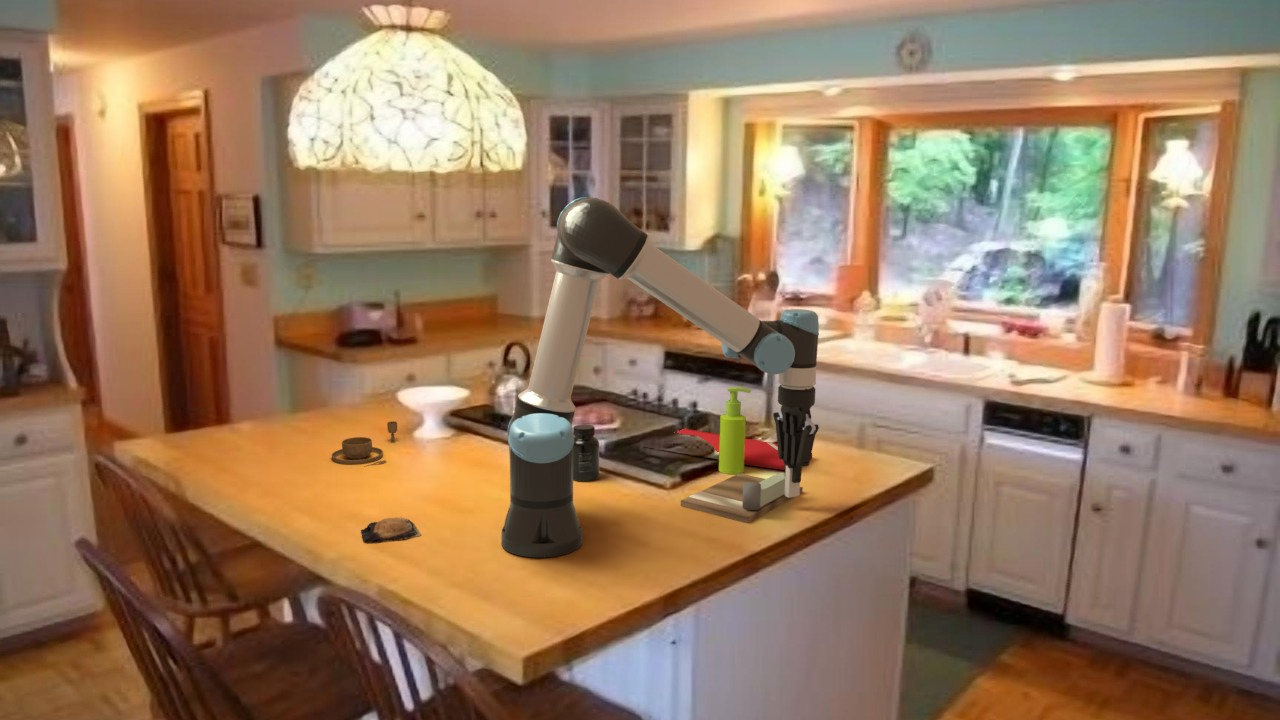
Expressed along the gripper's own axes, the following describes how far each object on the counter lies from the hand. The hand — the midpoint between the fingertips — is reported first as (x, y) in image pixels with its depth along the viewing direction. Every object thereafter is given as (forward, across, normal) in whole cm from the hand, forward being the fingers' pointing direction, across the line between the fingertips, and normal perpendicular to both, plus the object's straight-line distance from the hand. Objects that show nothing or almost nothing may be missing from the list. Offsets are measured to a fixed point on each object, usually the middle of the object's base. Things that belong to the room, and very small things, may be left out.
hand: (791, 495), depth 197 cm
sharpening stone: (+1, +3, +4) cm, 5 cm away
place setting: (+4, +74, +72) cm, 103 cm away
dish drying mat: (+3, +40, -8) cm, 41 cm away
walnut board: (+3, +9, +6) cm, 11 cm away
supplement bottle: (+3, +36, +32) cm, 48 cm away
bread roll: (+3, +19, +79) cm, 81 cm away
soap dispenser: (+3, +27, -2) cm, 27 cm away
